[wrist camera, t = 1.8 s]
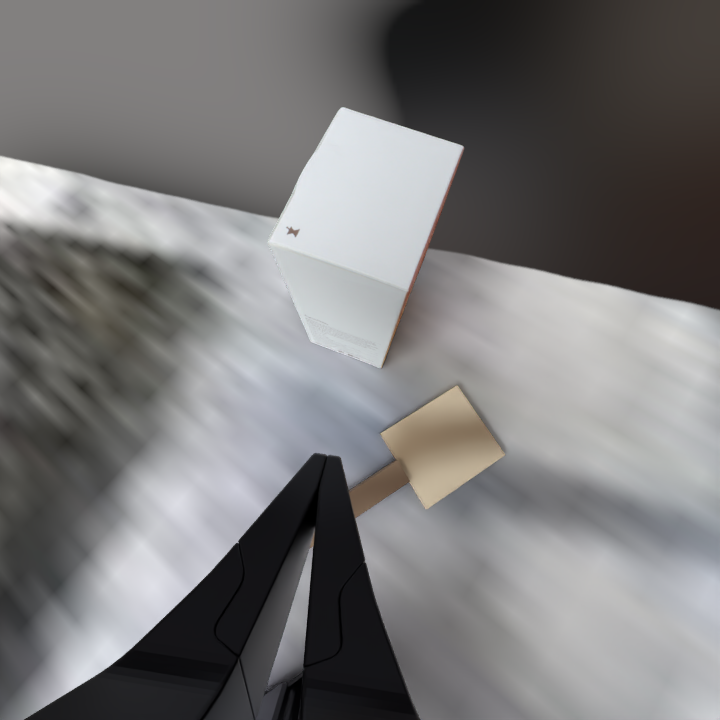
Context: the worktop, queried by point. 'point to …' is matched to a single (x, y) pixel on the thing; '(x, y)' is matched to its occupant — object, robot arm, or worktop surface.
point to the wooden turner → (431, 453)
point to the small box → (361, 230)
